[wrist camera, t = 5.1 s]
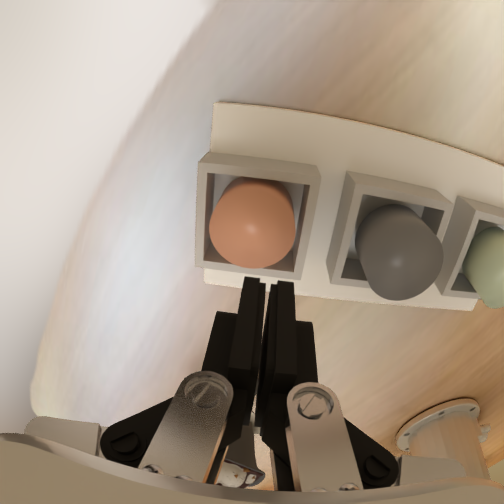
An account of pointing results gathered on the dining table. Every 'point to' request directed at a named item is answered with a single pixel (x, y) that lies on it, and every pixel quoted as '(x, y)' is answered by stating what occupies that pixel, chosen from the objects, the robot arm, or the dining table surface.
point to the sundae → (241, 462)
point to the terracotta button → (253, 222)
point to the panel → (345, 198)
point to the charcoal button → (398, 252)
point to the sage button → (487, 266)
